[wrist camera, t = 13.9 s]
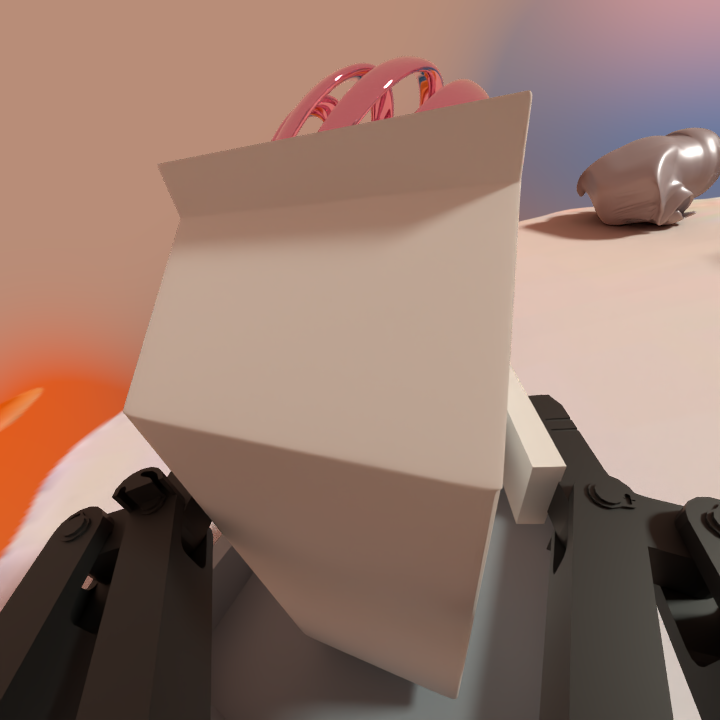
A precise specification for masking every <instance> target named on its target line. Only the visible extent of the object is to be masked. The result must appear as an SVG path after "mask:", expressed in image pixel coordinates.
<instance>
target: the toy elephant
mask: <svg viewBox="0 0 720 720" xmlns="http://www.w3.org/2000/svg"><path fill="white" fill-rule="evenodd" d="M719 141H720V138H719V136H718V135H717V134H716V133H714V132H712V131H711V130H708V129H704V128H687V129H682V130H678V131H675V132H672V133H670V134H668V135H666V136H651V137H646V138H642V139H639V140H636V141H633V142H631V143H629V144H626V145H624V146H622V147H620V148H618V149H616V150H614V151H612V152H610V153H608V154H606V155H604V156H603V157H601V158H600V159H598V160H597V161H595V162H594V163H593V164H592V165H590V166H589V167H588V168H587V169H586V170H585V171H584V172H583V173H582V175H581V176H580V178H579V180H578V184H577V192H578V194H579V196H581V197H582V196H583V195H584V194H585V192H586V193H587V194H588V195H589V197H590V199H591V201H592V203H593V206H594V208H595V211H596V213H597V215H598V217H599V218H600V220H601V221H603V222H604V223H606V224H609V225H623V224H628V223H635V222H651V223H654V224H658V225H667V224H673V223H676V222H678V221H680V220H682V219H684V218H686V217H689V216H691V215H693V214H695V213H696V212H694V211H692V212H686V213H684V211H685V210H686V209H687V208H688V207H689V206H690V204H691V203H692V201H693V198H695V197H697V196H699V195H701V194H703V193H704V192H705V191H707V190H708V189H709V188H710V187H711V186H712V185H713V183H714V182H715V181H716V180H717V179H718V177H719V175H720V142H719ZM717 173H718V174H717ZM717 175H718V176H717ZM715 176H716V177H715ZM712 182H713V183H712Z"/></svg>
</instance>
